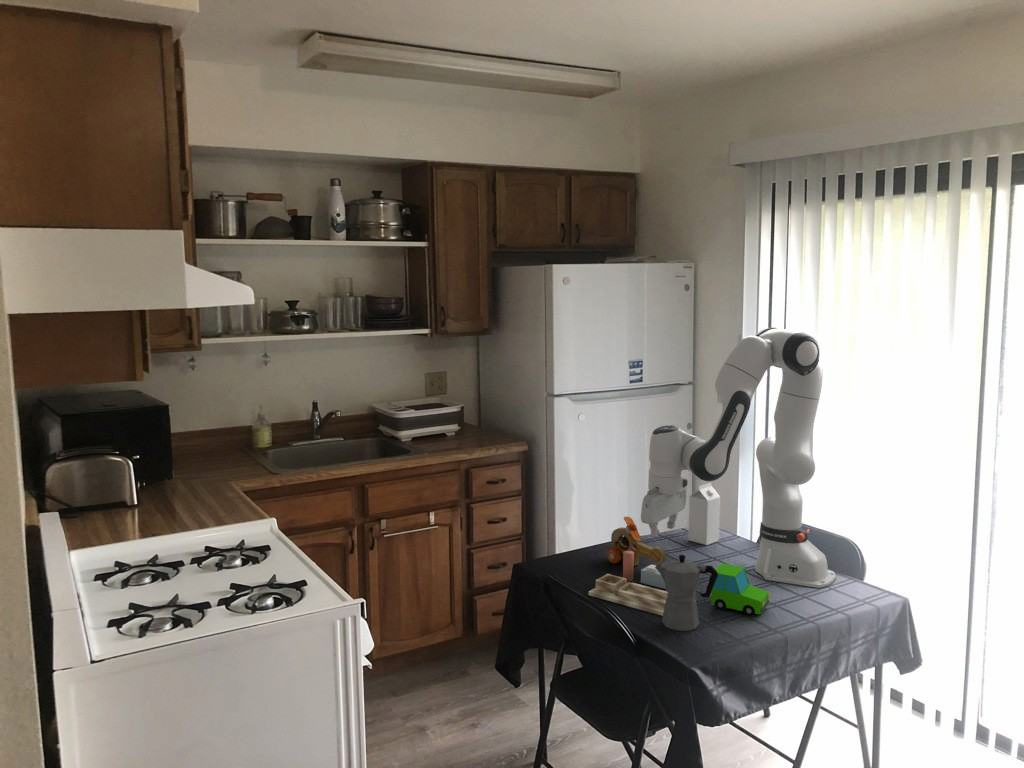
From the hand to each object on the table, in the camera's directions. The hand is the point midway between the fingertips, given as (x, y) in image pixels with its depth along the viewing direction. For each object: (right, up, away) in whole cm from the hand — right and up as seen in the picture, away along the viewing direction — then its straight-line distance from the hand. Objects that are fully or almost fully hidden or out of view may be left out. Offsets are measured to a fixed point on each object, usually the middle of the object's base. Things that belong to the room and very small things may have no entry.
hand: (663, 532), depth 236 cm
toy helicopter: (-5, -13, +18) cm, 23 cm away
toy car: (+18, -18, -14) cm, 29 cm away
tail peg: (-9, -15, +7) cm, 18 cm away
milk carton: (+21, -10, +40) cm, 46 cm away
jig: (-9, -17, -7) cm, 20 cm away
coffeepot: (+1, -19, -24) cm, 31 cm away
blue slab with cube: (0, -16, +2) cm, 16 cm away
